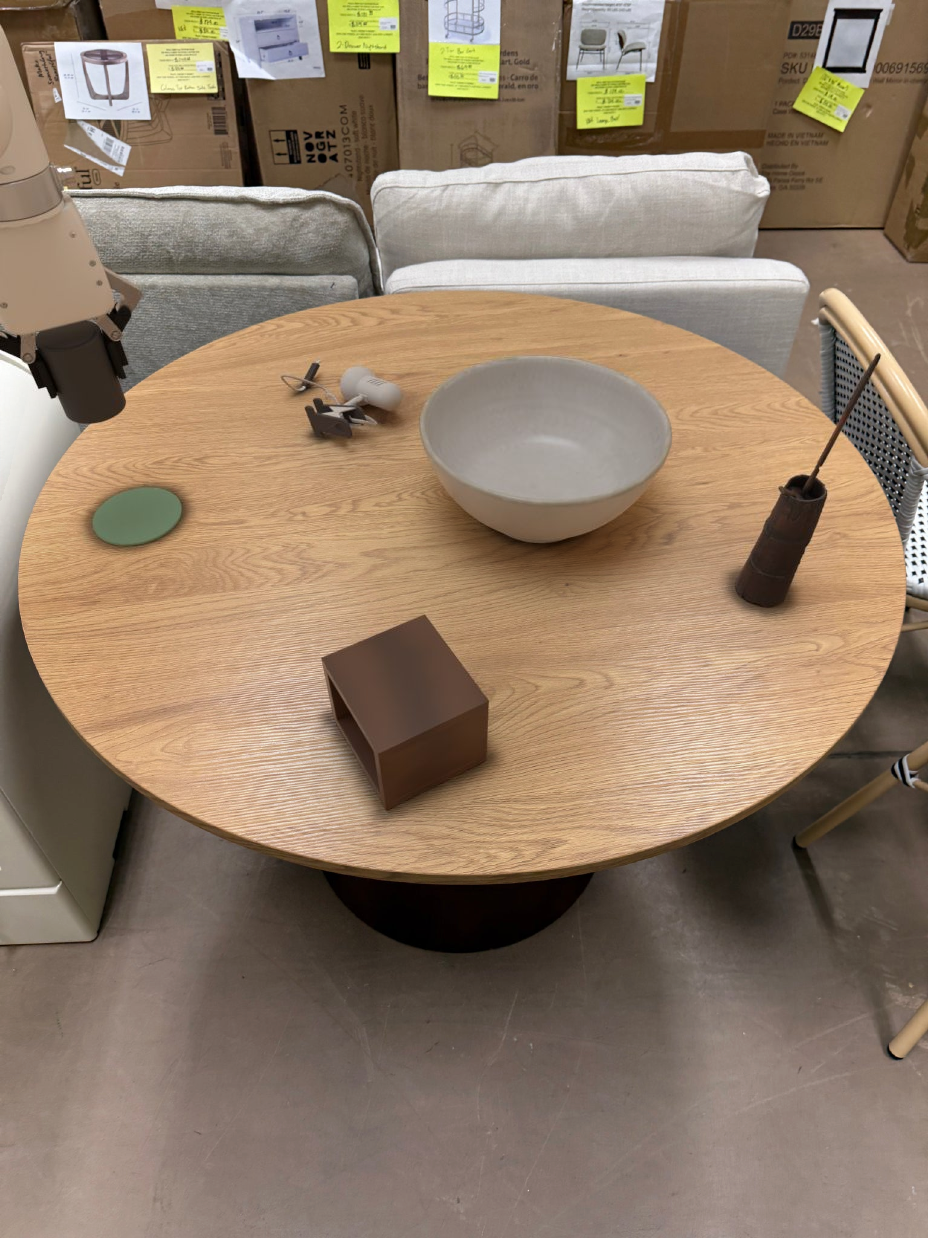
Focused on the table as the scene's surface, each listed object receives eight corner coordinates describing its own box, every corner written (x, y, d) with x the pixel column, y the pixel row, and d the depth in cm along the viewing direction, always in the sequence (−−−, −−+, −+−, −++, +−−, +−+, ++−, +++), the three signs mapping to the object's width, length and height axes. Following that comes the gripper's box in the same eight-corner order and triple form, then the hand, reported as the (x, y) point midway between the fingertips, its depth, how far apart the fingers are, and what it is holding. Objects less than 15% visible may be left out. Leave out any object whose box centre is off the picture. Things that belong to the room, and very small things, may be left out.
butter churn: (716, 626, 83) (801, 385, 62) (700, 561, 89) (772, 323, 69) (806, 628, 83) (922, 387, 62) (784, 562, 89) (881, 324, 68)
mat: (105, 557, 90) (104, 555, 90) (84, 506, 96) (83, 504, 95) (193, 527, 93) (192, 525, 93) (168, 479, 99) (167, 477, 99)
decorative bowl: (482, 418, 107) (484, 334, 98) (680, 475, 100) (702, 388, 91) (381, 543, 91) (372, 455, 82) (607, 622, 84) (624, 534, 74)
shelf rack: (386, 811, 69) (378, 753, 62) (333, 718, 75) (320, 657, 69) (486, 760, 72) (489, 700, 66) (428, 676, 79) (424, 613, 72)
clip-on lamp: (273, 419, 112) (348, 453, 101) (255, 377, 108) (331, 407, 97) (339, 380, 117) (418, 407, 105) (325, 338, 113) (404, 362, 101)
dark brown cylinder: (72, 430, 81) (41, 357, 75) (59, 400, 84) (28, 328, 78) (133, 413, 83) (107, 340, 77) (117, 384, 86) (91, 312, 80)
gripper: (104, 158, 73) (160, 342, 86) (-107, 197, 67) (-12, 388, 81) (126, 186, 69) (182, 376, 82) (-98, 230, 63) (2, 426, 76)
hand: (85, 380), depth 81 cm, fingers closed on dark brown cylinder, 6 cm apart
